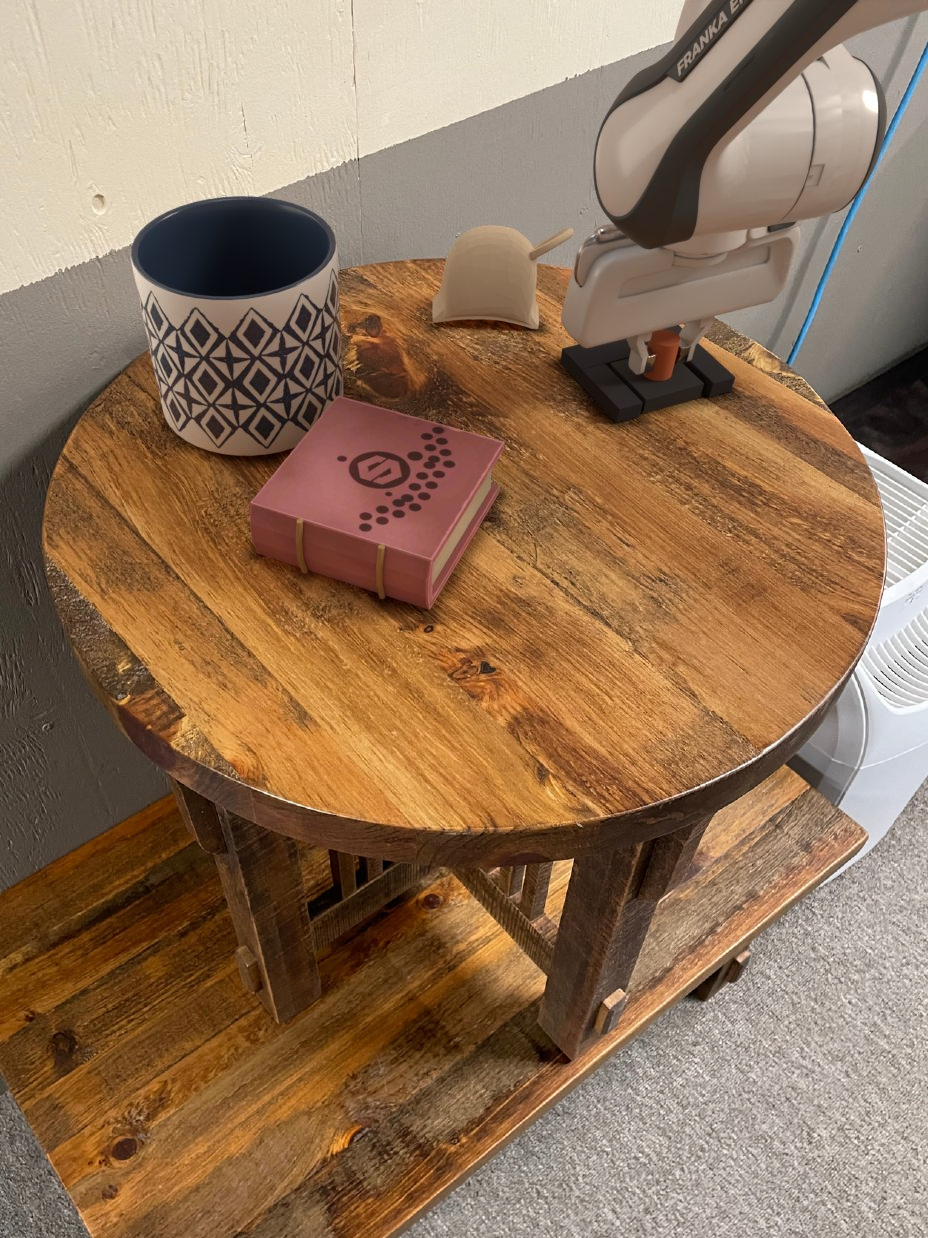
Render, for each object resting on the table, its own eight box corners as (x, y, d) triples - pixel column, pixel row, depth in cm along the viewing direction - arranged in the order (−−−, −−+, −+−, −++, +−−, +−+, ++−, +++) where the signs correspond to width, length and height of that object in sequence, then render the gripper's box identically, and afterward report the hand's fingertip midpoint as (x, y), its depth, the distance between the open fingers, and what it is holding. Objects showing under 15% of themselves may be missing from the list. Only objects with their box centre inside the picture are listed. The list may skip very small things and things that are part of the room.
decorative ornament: (434, 289, 99) (439, 207, 93) (560, 298, 99) (574, 217, 92) (430, 323, 96) (435, 240, 89) (561, 332, 95) (575, 250, 89)
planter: (341, 349, 93) (334, 192, 82) (347, 457, 84) (340, 295, 72) (170, 355, 93) (139, 197, 81) (156, 464, 83) (118, 302, 72)
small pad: (663, 362, 92) (675, 312, 88) (700, 398, 89) (714, 347, 85) (607, 377, 91) (617, 326, 87) (642, 414, 87) (654, 363, 83)
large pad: (670, 334, 95) (673, 319, 94) (731, 391, 89) (736, 376, 88) (559, 362, 92) (561, 347, 91) (616, 423, 86) (619, 408, 85)
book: (251, 560, 76) (244, 509, 72) (340, 446, 84) (337, 395, 80) (424, 617, 72) (426, 567, 68) (499, 492, 81) (504, 441, 77)
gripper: (602, 250, 73) (574, 412, 84) (829, 198, 78) (775, 357, 89) (560, 212, 76) (538, 372, 87) (780, 165, 81) (733, 321, 92)
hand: (659, 364), depth 88 cm, fingers closed on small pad, 2 cm apart
